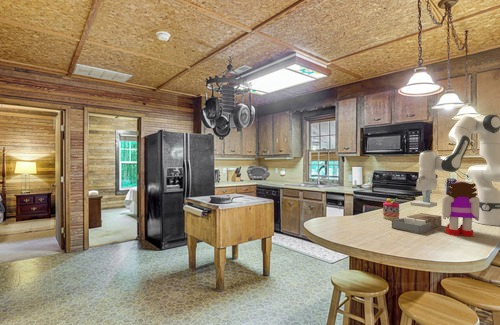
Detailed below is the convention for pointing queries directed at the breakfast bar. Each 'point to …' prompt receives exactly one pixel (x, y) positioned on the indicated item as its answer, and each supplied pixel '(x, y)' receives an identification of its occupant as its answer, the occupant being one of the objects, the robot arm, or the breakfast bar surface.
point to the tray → (410, 226)
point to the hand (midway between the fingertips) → (426, 197)
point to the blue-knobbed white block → (424, 202)
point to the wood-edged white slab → (428, 219)
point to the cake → (391, 210)
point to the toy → (460, 208)
